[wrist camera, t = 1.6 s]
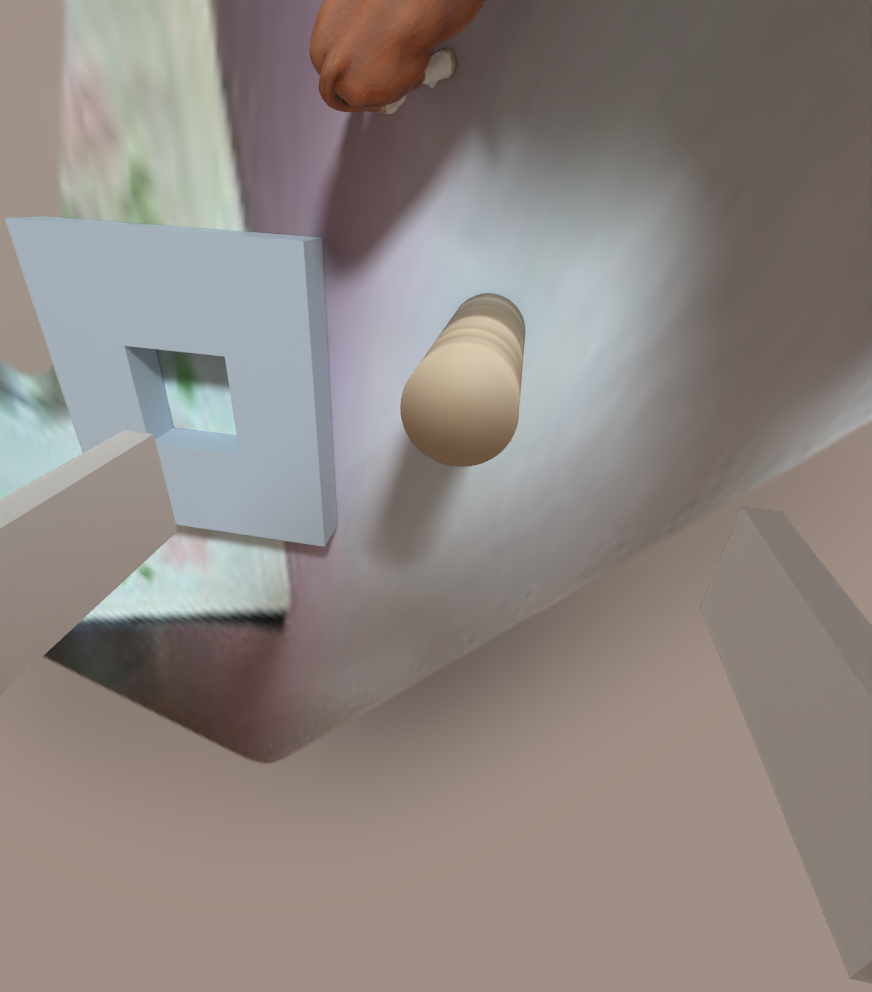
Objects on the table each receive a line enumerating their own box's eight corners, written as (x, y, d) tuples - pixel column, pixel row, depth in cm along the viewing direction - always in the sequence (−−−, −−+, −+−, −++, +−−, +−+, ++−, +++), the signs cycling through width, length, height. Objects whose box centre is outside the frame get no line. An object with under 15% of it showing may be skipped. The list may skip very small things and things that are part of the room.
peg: (453, 290, 27) (401, 347, 16) (530, 296, 26) (526, 360, 16) (448, 366, 29) (399, 459, 18) (519, 373, 28) (510, 473, 18)
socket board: (44, 216, 28) (4, 218, 26) (321, 237, 26) (303, 241, 24) (127, 495, 37) (102, 513, 35) (337, 525, 36) (324, 546, 33)
